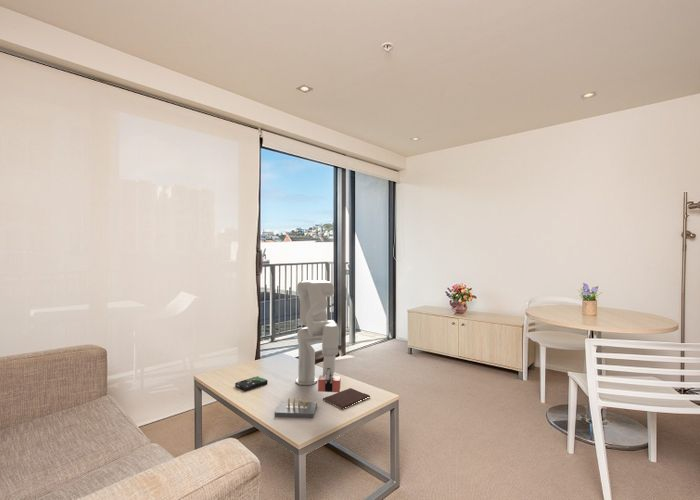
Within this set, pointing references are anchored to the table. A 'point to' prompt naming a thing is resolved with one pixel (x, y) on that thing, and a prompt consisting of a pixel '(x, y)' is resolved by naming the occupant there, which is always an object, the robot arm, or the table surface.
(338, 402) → the notebook
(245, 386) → the disk drive
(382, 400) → the table surface
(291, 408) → the board
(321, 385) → the block
